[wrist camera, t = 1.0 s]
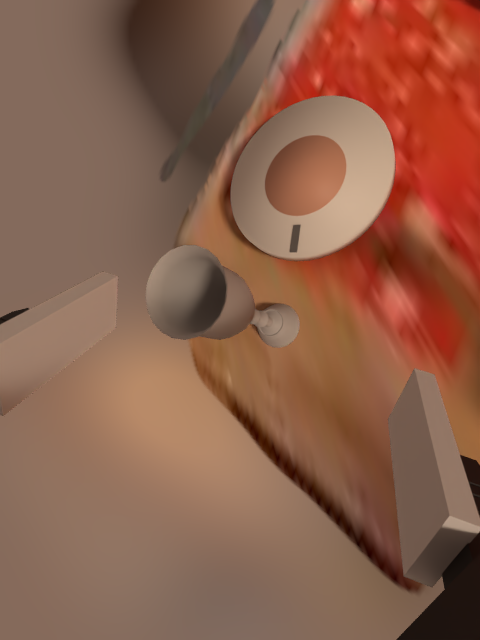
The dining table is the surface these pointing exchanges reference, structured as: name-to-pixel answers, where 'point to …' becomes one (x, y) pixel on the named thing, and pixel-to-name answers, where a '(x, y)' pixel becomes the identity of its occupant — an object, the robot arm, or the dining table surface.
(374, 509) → the dining table surface
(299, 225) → the turntable
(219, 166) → the dining table surface
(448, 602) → the robot arm
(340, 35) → the dining table surface
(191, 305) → the chalice
